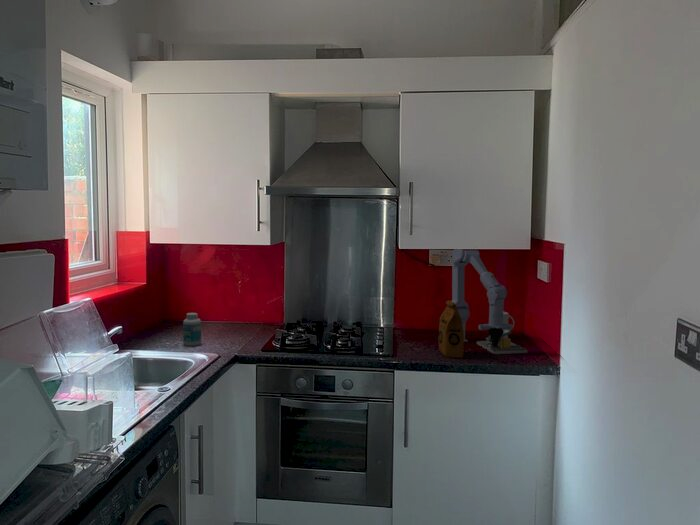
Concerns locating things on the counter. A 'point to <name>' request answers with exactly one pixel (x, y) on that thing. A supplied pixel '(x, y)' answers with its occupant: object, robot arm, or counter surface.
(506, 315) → the mug
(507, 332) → the teal tile with stripe
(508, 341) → the slider knob
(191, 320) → the pill bottle
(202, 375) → the counter surface
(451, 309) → the coffee package
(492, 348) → the panel
